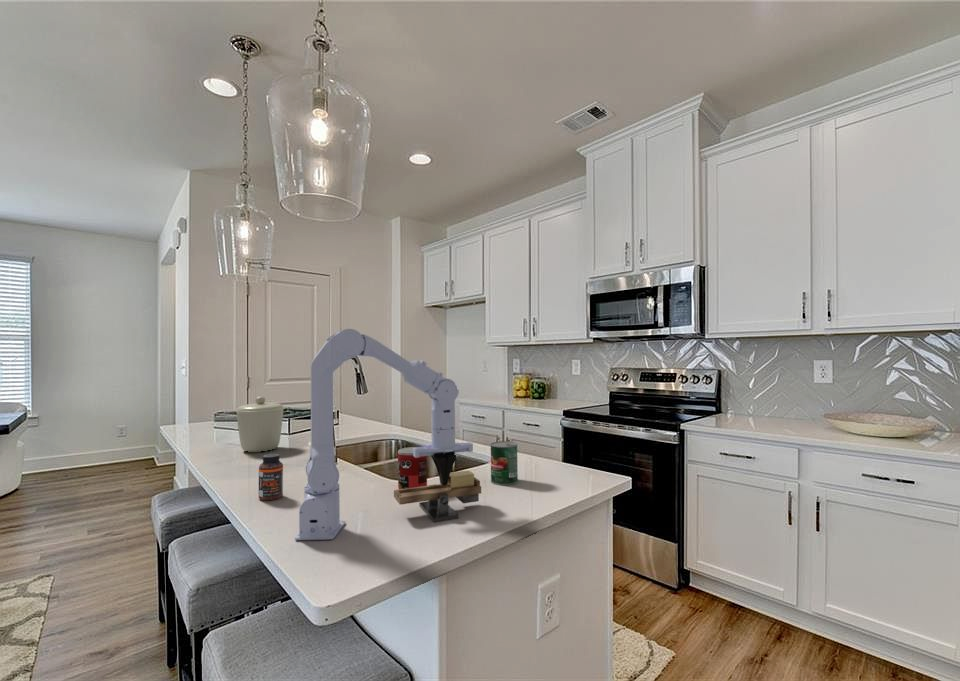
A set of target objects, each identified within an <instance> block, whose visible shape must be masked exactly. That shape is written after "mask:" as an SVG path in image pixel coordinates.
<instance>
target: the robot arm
mask: <svg viewBox="0 0 960 681" xmlns="http://www.w3.org/2000/svg"><path fill="white" fill-rule="evenodd" d="M357 356H361V357H371V358H374V359H376V360H378V361H380V363H381V362H382V363H384V364H385V365H387V366H389V368H392V369H394V370H395V371H398V372H399V373H401V375H402V378H403V381H404V383H407V384H409V385H410V386H412V387H414V388H415V389H417V390H419V391H421V392H422V393H424V394H425V395H428V396H429V397H430V399H431V409H430V412H431V413H430V414H431V416H430V418H431V419H430V420H431V423H430V424H431V444H430V445H423V446H419V447H418V446H416V447H417V448H413V456H414V457H415V458H417V457H420V456H427V457H428V456H431V459H432V461H433V463H434V465H435V467H436V471H437V473H438V478H439V484H442V485H447V484H448V479H449V475H450V473H451V471H452V469H453V466H454V463H455V462H456V460H457V455H456V454H457V453H464V452H465V453H466V452H467V453H468V452H469V453H471V452H474V448H473V446H474V445H473V443H472V442H468V441H467V442H456V407H455V402H456V399H457V398H458V395H459V393H460V391H459V389H458V386H457V385H456V382H455V381H454V380H452V379H450V378H446V377H444V376H443V375H444V374H443V372H440V371H438V372H437V371H436V370H434V369H433V368H431V367H429V366H428V365H427V364H428V363H427V362H426V361H424V360H420V361H419V360H417V359H416V360H411V361H409V360H407V359H406V358H404V357H403V356H401V355H399V354H398V353H396V352H395V351H393V350H392V349H390V348H389V347H387V346H386V345H385V344H383V343H381V342H380V341H378V340H376V339H375V338H373V337H371V336H369V335H366V334H363V333H360V332H359V330H356V329H353V328H345V329H342V330H339V331H336V332H335V333H334V334H332V335H331V336H329V337H328V338H326V340H325V341H324V344H323V345H322V346H321V347H320V349H319V351H318V352H317V353H316V355H315V356H314V358H313V359H312V361H311V362H310V449H309V459H308V460H307V463H306V465H305V473H306V476H307V484H306V485H305V486H304V488H303V489H304V493H303V494H304V498H303V499H304V500H303V502H302V503H301V505H300V507H299V512H298V513H299V514H298V515H299V516H298V517H299V518H298V519H299V521H298V524H299V525H298V526H299V530H298V531H299V532H298V534H297V535H296V536H295V537H294V540H295V541H318V540H321V541H323V540H324V541H325V540H326V541H327V540H334V539H335V538H336V536H337V535H338V534H339V532H340V531H341V529H342V528H343V527H344V525H345V524H346V520H344V519H343V520H342V519H340V517H341V516H340V514H341V512H340V509H341V508H340V505H341V504H340V503H341V502H340V484H339V480H340V472H339V469H338V467H337V466H336V461H335V449H334V447H335V446H334V372H335V371H336V370H337V369H338V368H340V367H341V366H342V365H343V364H344V363H345V362H347V361H349V360H352V359H353V358H354V359H355V358H356V357H357Z"/></svg>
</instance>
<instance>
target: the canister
mask: <svg viewBox="0 0 960 681" xmlns="http://www.w3.org/2000/svg"><path fill="white" fill-rule="evenodd" d="M254 400H255V403H248V404H243V405H240V406H238V407H237V408H236V409H234V412H235V413H236V419H237V429H238V435H239V442H240V447H241V449H242V451H244V452H246V451H248V452H247V453H262V452H261V451H265V452H269V451H268V450H270V451H273V450H275V449H277V448H278V446H279V445H280V442H281V441H280V440H281V436H282V428H283V418H284V410H285V409H286V406H284V405H282V404H281V403H277V402H266V398H265V396H257V397H255V399H254ZM276 447H277V448H276ZM272 449H273V450H272Z"/></svg>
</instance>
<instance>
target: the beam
mask: <svg viewBox="0 0 960 681" xmlns="http://www.w3.org/2000/svg"><path fill="white" fill-rule="evenodd" d="M429 485H430V486H428V485H427V486H422V487H414V488H406V489H399V488H398V489H394V490H393V497H394V499H395V500H396V502H397V503H398V504H399V505H405V504H406V505H407V504H413V503H414V504H415V503H420V502H427V501H429V500H437V499H438V495H439V494H446V493H447V494H448V499H450V498H456V499H458V501H460V502H461V503H462V504H469V503H476V502H479V499H480V498H479V496H480V494H482V486H481V480H480V479H478V478H477V477H475V476H474V487H467V488H459V489H451V490H448V489H447V488H446V485H442V484H440V483H439V484H436V485H435V484H429Z"/></svg>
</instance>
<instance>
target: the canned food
mask: <svg viewBox="0 0 960 681" xmlns="http://www.w3.org/2000/svg"><path fill="white" fill-rule="evenodd" d="M417 447H418V446H409V447H403V448H399V449H398V451H397V488H398V489H406V488H414V487H422V486H428V456H420V457H417V458H415V457H414V456H413V448H417Z"/></svg>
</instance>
